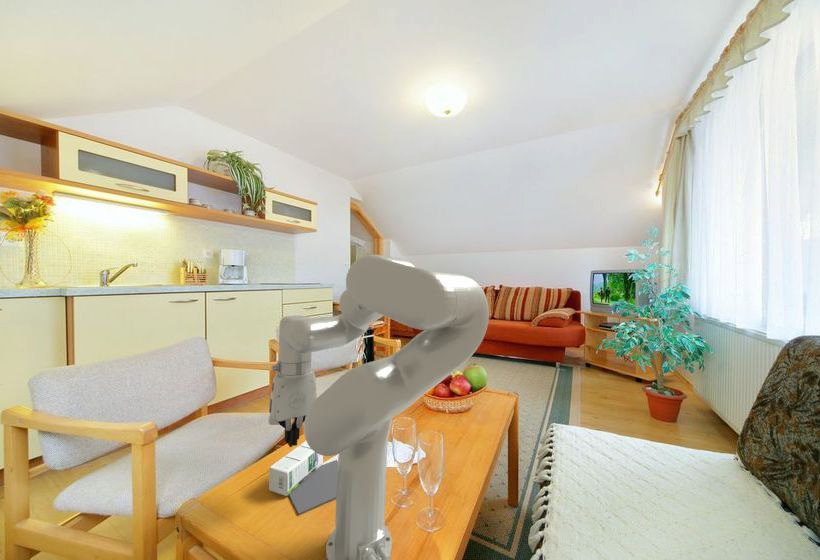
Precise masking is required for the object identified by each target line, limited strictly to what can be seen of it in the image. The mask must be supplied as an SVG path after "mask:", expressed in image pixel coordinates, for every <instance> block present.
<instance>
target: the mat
mask: <svg viewBox="0 0 820 560" xmlns="http://www.w3.org/2000/svg"><path fill="white" fill-rule="evenodd" d="M337 468H338V459H334V460H332V461H330V462H326V463H323V464H322V465H321V466H320V467H319V468H317V469H316V470H315V471H314V472H313V473H312V474H311V475H310V476H309V477H308V478H306V479H305V480H304V481H303V482H302V483H301V484H300V485H299V486H298V487H296V488H295V489H294V490H293V491H292V492H291V493H290V494H289V495H288V497H289V499H290V501H291V503H292V505H293V506H294V509H295V512H296V513H297V515H298V516H301V515H303V514H305V513H308V512H309V511H312V510H314V509H316V508H319V507H321V506H323V505H326V504H327V503H329V502H332V501H334V500H336V492H337Z"/></svg>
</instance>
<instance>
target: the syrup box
mask: <svg viewBox="0 0 820 560" xmlns="http://www.w3.org/2000/svg"><path fill="white" fill-rule="evenodd" d="M321 465H324V456H323V455H320V454H318V453H316V452H315V451H313V450H312V449H311V448H310V446H309V445H308V443H307V441H306V440H305V441H304V442H302V443H301V444H300V445H297V446H296V447H295V448H293V450H291V451H289V453H287V454H286V455H284V456H283V457H281V458H280V459H279V460H277V461H276V462H275V463H274V464H272V465H270V466H269V477H268V478H269V481H268V491H271V492H273V493H276V494H279V495H282V496H285V497H289V494H290V493H291V492H292V491H293V490H294V489H295V488H296V487H298V486H299V485H300V484H301V483H302V482H303V481H304V480H305V479H306V478H308V477H309V476H310V475H311V474H312V473H313V472H314V471H315V470H316V469H317V468H319V467H320V466H321Z"/></svg>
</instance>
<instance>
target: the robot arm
mask: <svg viewBox="0 0 820 560" xmlns="http://www.w3.org/2000/svg"><path fill="white" fill-rule="evenodd" d="M345 286H346V289H345V290H344V291H343V292H342V294H341V295H340V298H339V309H340V312H341V313H340V314H338V315H336V316H335V315H334V316H322V317H321V316H320V317H310V316H308V315H287V316H284V317H282V318H281V319H280V322H279V331H278V332H279V333H278V334H279V335H278V352H277V353H278V356H277V357H278V359H277V362H276V363H275V364H271V368H270V369H271V372H276V373H275V374H274V377H273V380H272V383H271V384H272V385H271V390H270V397H269V406H268V408H269V410H268V412H269V417H268V424H269V425H270V426H277V425H280V426H281V427H283V429H284V443H285V444H287V445H288V446H289V448H293V447H294V446H295V447H297V446H298V440H299V439H300V431H301V429H300V428H301V427H302V426H303V432H304V439H305V441H307V443H308V445H309V446H310V448H311V449H312V450H313V451H315V452H316V453H318V454H320V455H323V457H333V456H336V455H338V456H337V461H338V468H337V492H336V499H335V502H336V503H335V524H334V525H335V526H334V529H333V531H332V532H331V534H329V537H328V539H327V541H326V546H325V556H326V560H392V556H391V554H392V553H391V552H392V549H393V548H392V545H393V539H392V534H391V531H390V530H389V528H388V526H387V525H385V521H386V520H385V519H386V493H387V491H386V489H387V468H388V467H387V465H388V462H387V461H388V447H389V446H388V445H389V438H390V437H389V436H390V431H391V428H392V427H391V426H392V422H393V418H394V417H395V416H397V415H400V414H401V413H402V412H404V411H406V410H407V409H409V408H410V407H411V406H412V405H414V403H416V402H417V401H418V400H419V399H420V398H421V397H423V396H424V395H425V394H426V393H428V392H429V391H431V390H432V389H433V388H434V387H436V386H437V385H439V384H440V383H442V381H444V380H445V379H447V378H448V377H449V376H450V375H452V374H453V373H454V372H456V371H457V370H459V368H460V367H462V366H463V365H464V364H465V363H466V362H467V361H468V360H469V359H470V358H471V357H472V356H473V355H474V354H475V352H476V351H477V350H478V348H479V347H480V345H481V344H482V342H483V341H484V337H485V336H486V332H487V330H488V326H489V318H490V314H489V313H490V310H489V303H488V299H487V296H486V293H485V291H484V290H483V288H482V286H481V285H479V283H477V281H475V280H474V279H472V278H471V277H469V276H465V275H462V274H458V273H448V272H442V271H433V270H427V269H424V268H419V267H416V266H415V265H414V264H413V263H411V262H410V261H408V260H406V259H403V258H400V257H394V256H388V255H387V256H386V255H383V254H382V255H381V254H365V255H363V256H361V257H359V258H357V259H356V260H355V261H354V262H353V263H352V264H351V265H350V266H349V268H348V270H347V273H346V277H345ZM383 317H385V318H388V319H390V320H393V321H395V322H397V323H399V324H402V325H404V326H406V327H410V328H412V329H416V330H422V331H421V332H419V333H418V334H417V335H416V336H415V337H412V338H411V340H410V341H409V342H408V343H406V344H405V345H404V346H403V347H401V349H398V350H397V351H396V352H395V353H393V354H391V355H390V356H386V357H383V358H380V359H377V360H373V361H369V362H366V363H362V364H360V365H359V364H358V365H357V366H355V367H353V368H352V369H349V370H348V371H346V372H345V373H343V375H341V376H339V378H338V379H337V380H336V381H334V383H332V384H331V385H330V386H329V387H328V388H327V389H326V390H324V392H322V394H320V395H319V396H318V392H317V391H318V390H317V389H318V388H317V382H316V378H317V377H316V374H315V370H313V369H312V353H316V352H320V351H324V350H329V349H334V348H339V347H343V346H345V345H347V344H349V343H351V342H353V341H355V340H356V339H358V338H360V337H361V336H363V335H364V334H365V333H367V331H368V329H370V328H369V327H371V326H370V325H371V324H372V323H374V322H376V321H377V320H380V319H381V318H383ZM292 419H293V421H292ZM292 422H293V423H292ZM302 424H303V425H302Z"/></svg>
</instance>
